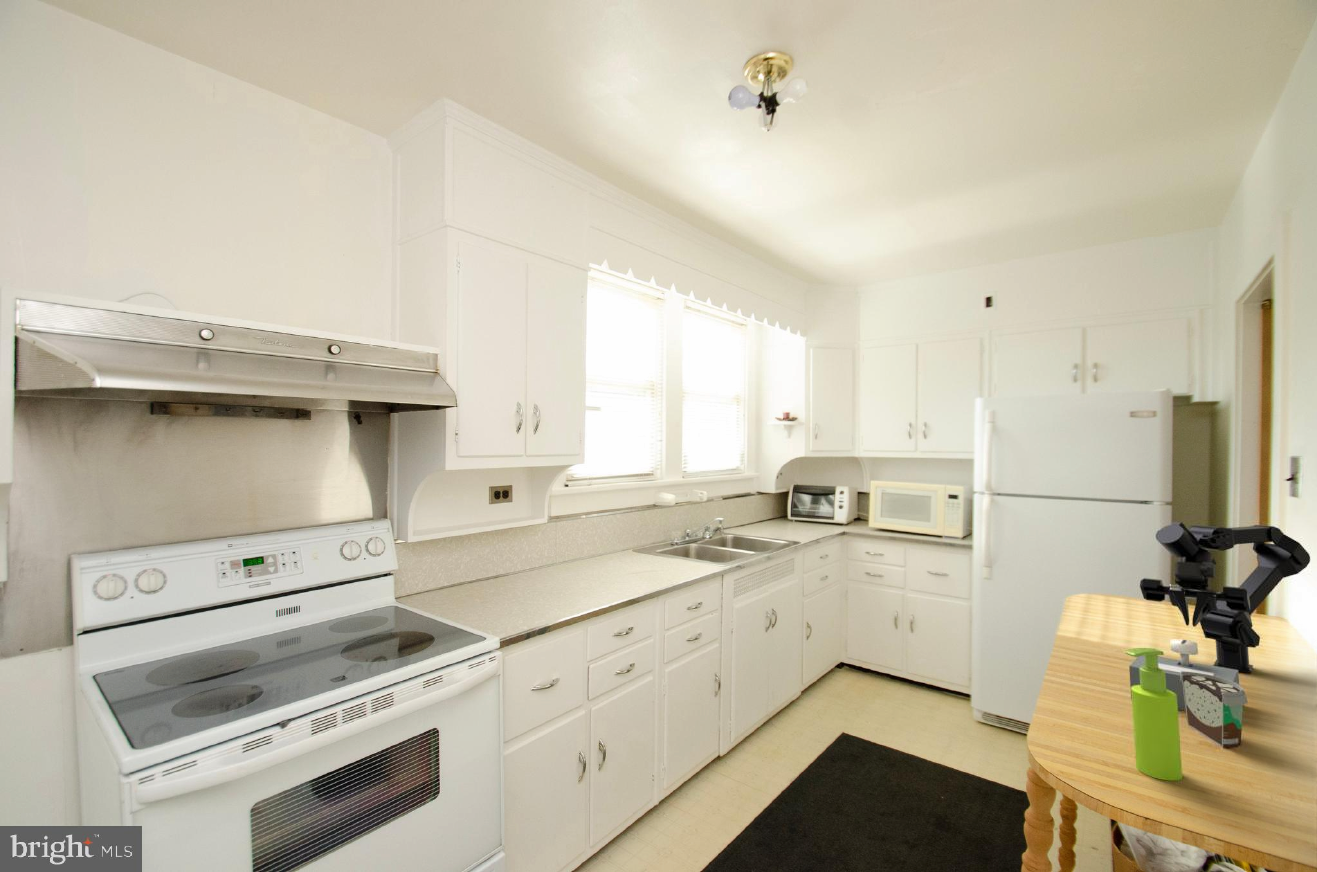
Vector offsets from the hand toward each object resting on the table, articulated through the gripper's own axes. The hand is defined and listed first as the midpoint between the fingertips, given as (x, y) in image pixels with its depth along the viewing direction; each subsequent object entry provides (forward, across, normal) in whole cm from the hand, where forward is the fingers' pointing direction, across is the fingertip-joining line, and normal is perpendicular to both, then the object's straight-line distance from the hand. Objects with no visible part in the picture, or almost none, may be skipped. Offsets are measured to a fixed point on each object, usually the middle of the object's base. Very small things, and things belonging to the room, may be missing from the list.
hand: (1190, 625), depth 135 cm
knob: (+12, 0, -1) cm, 12 cm away
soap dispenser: (+47, +2, -28) cm, 54 cm away
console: (+18, 0, +1) cm, 19 cm away
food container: (+30, +8, -10) cm, 33 cm away
